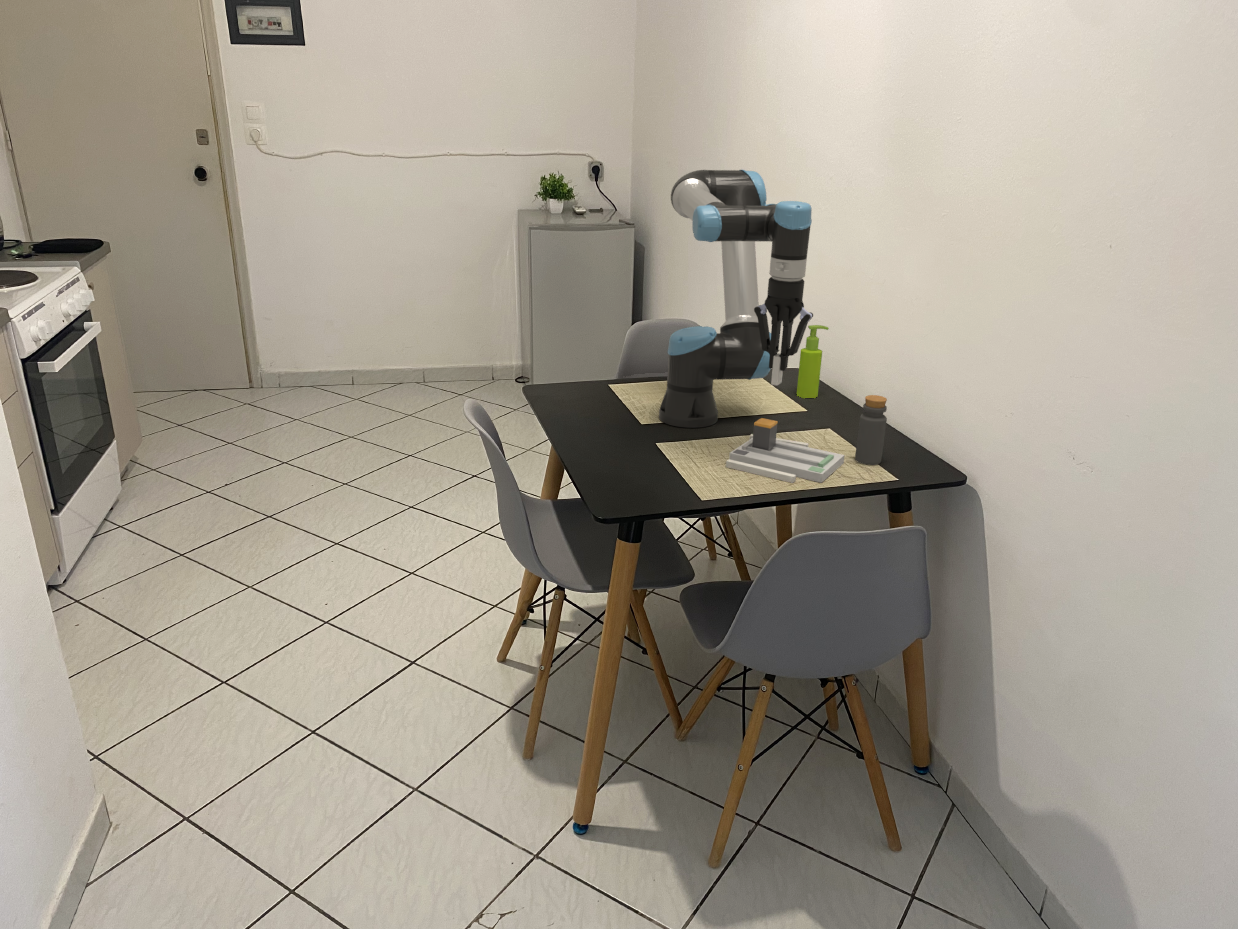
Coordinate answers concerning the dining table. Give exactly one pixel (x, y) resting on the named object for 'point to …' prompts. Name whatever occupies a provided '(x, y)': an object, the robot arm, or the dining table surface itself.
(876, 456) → the bottle
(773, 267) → the robot arm
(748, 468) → the light grey long bar
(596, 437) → the dining table surface
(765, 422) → the knob
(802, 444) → the light grey thin bar
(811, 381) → the soap dispenser
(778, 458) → the panel
